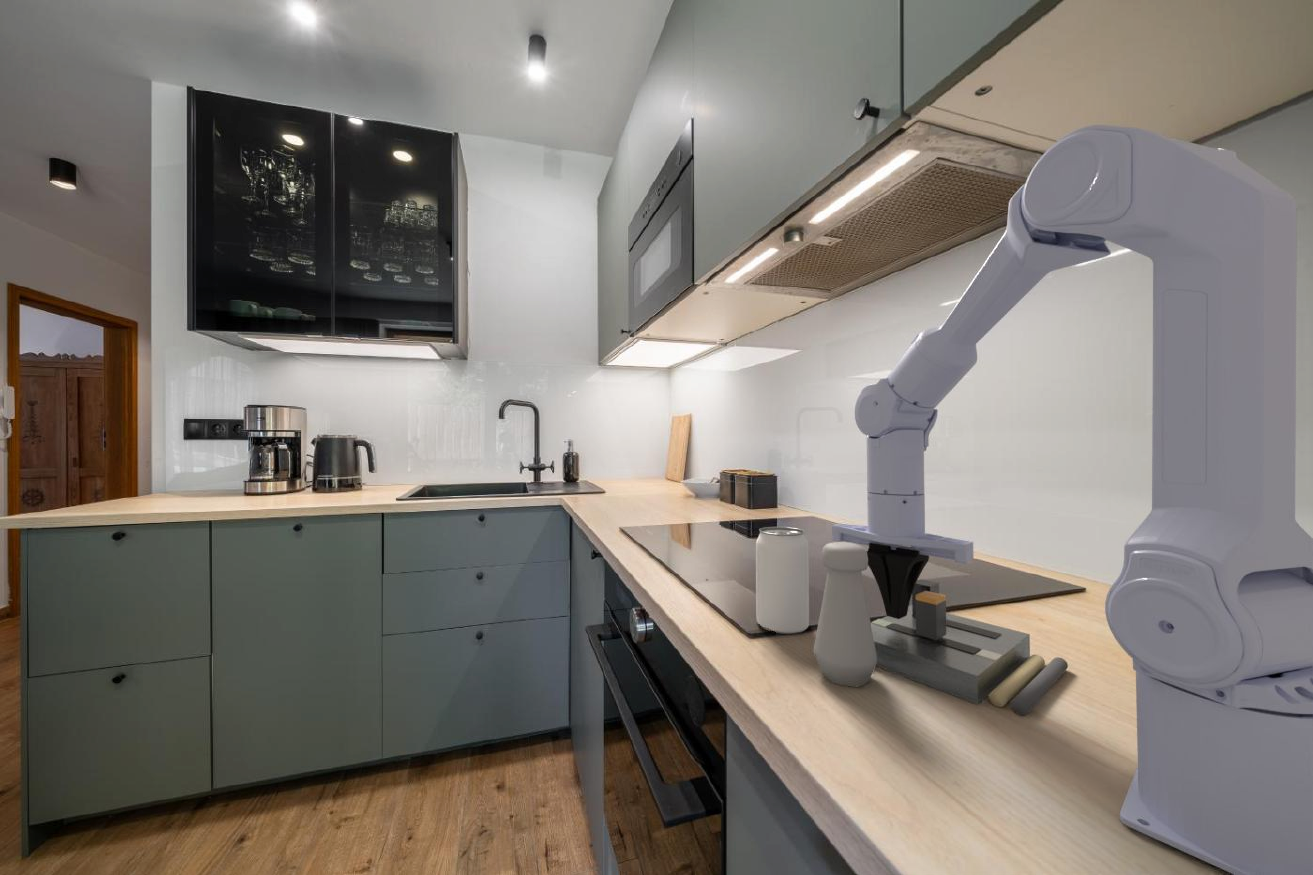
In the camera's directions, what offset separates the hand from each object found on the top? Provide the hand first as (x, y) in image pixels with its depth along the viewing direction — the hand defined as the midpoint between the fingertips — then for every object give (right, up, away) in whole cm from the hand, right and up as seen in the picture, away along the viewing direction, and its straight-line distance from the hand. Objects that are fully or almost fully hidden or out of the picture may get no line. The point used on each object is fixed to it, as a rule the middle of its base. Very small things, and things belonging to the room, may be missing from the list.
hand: (896, 615), depth 52 cm
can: (-11, -4, +7) cm, 14 cm away
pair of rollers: (+9, -4, -8) cm, 12 cm away
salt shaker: (-8, -4, -6) cm, 11 cm away
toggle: (+2, -1, -3) cm, 4 cm away
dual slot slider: (+4, -4, -2) cm, 6 cm away
